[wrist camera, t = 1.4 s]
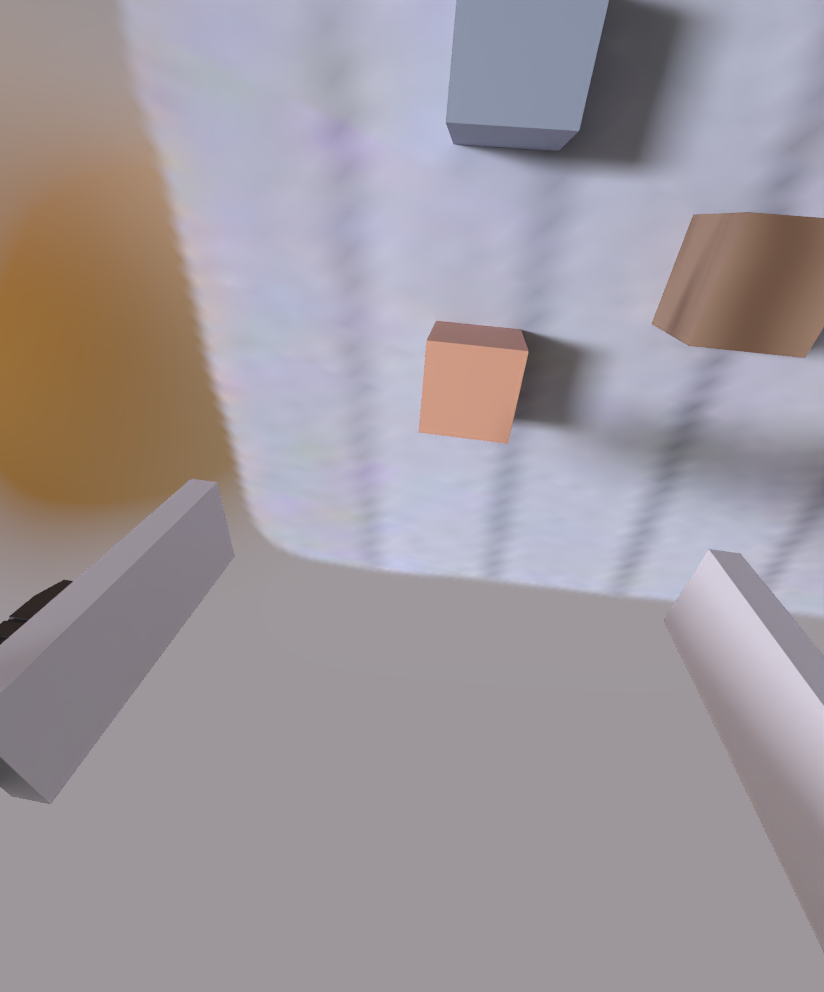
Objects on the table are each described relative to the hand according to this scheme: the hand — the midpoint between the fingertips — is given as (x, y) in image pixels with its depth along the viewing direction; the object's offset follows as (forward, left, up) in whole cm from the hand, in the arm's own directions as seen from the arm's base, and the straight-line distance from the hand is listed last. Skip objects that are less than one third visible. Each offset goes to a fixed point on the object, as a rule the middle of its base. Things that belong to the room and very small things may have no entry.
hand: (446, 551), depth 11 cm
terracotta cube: (0, 0, -17) cm, 17 cm away
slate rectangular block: (0, -13, -17) cm, 22 cm away
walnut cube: (-12, -6, -17) cm, 22 cm away
